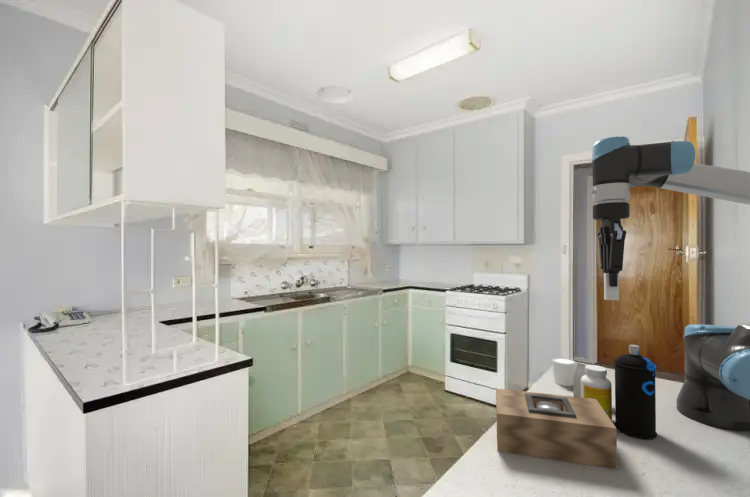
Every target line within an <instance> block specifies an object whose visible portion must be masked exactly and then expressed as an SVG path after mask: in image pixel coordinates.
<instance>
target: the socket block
mask: <svg viewBox="0 0 750 497" xmlns="http://www.w3.org/2000/svg"><path fill="white" fill-rule="evenodd" d="M540 401H548V402H553V403H556V404H558V405H559V406H560V407H561V411H558V410H550V409H541V408H536V403H537V402H540ZM495 410H496V412H495V413H496V414H495V415H496V416H495V418H496V422H497V423H496V424H495V425H496V444H497V451H498V452H504V453H509V454H517V455H523V456H529V457H536V458H541V459H548V460H555V461H560V462H561V461H562V462H567V463H568V462H569V463H574V464H580V465H586V466H593V467H594V466H595V467H599V468H607V469H614V470H618V459H617V458H618V454H617V453H618V452H617V450H618V448H617V445H618V444H617V442H618V441H617V440H618V439H617V438H618V437H617V436H618V435H617V433H618V432H617V431H618V430H617V429H616V427H615V425H614V423H613V420H612V421H611V420H610V418H609V417H608V415H607V414H606V413H605V411H604V410H603V408H602V407H601V405H600V404H599V403H598V401H597V400H596V399H592V398H582V397H574V396H571V395H562V394H552V393H543V392H534V391H533V392H532V391H524V390H523V391H522V390H516V389H515V390H513V389H505V388H504V389H503V388H495Z"/></svg>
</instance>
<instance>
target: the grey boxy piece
mask: <svg viewBox="0 0 750 497" xmlns="http://www.w3.org/2000/svg"><path fill="white" fill-rule="evenodd" d="M586 365H587V364H584V363H581V362H576V369H575V373H574V377H573V386H572V387H573V396H572V397H581V378H582V376H584V375H586V372H585V366H586Z"/></svg>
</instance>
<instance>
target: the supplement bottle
mask: <svg viewBox="0 0 750 497" xmlns="http://www.w3.org/2000/svg"><path fill="white" fill-rule="evenodd" d="M607 371H608V370H607V368H606V367H604V366H600V365H595V364H586V366H585V372H586V375H584V376H582V378H581V397H582V398H592V399H596V400H597V401H598V403H599V404H600V405H601V407H602V408H603V410H604V411H605V413H606V414H607V415H608V417H609V418H610V420H611V421H612V422H613V399H612V398H613V395H612V388H613V387H612V386H613V385H612V382H611V380H610V379H608V378H607V375H608V372H607Z"/></svg>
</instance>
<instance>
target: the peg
mask: <svg viewBox="0 0 750 497" xmlns="http://www.w3.org/2000/svg"><path fill="white" fill-rule="evenodd" d="M536 408H541V409H550V410H558V411H561V407H560V406H559V405H558V404H556V403H553V402H548V401H540V402H537V403H536Z"/></svg>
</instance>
